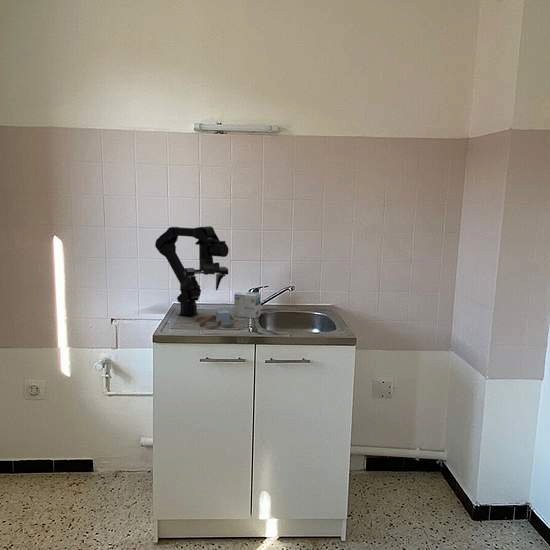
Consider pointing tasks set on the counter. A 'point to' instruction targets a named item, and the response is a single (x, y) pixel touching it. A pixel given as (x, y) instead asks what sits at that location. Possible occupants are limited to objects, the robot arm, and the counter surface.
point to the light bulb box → (247, 304)
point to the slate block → (223, 316)
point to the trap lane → (211, 318)
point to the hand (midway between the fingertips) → (206, 290)
